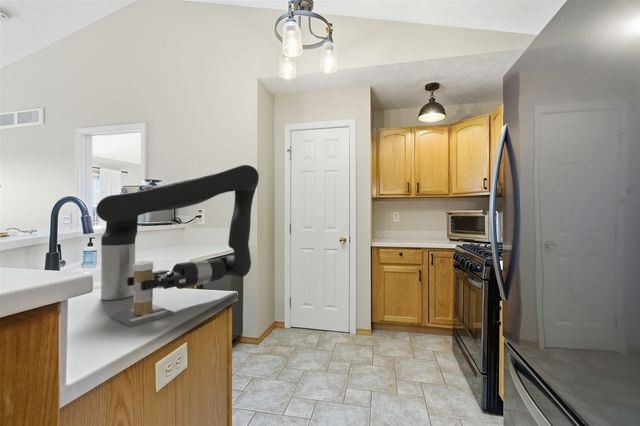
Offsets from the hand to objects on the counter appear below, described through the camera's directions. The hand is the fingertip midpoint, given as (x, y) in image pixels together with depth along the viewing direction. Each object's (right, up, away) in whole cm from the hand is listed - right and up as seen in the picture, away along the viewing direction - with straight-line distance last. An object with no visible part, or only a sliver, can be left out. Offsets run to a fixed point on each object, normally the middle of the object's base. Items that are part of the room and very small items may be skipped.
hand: (134, 284), depth 76 cm
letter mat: (+1, -9, +2) cm, 9 cm away
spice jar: (+1, -8, +2) cm, 9 cm away
